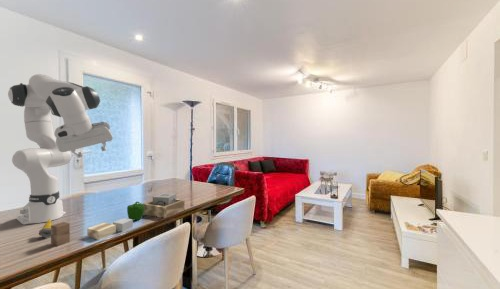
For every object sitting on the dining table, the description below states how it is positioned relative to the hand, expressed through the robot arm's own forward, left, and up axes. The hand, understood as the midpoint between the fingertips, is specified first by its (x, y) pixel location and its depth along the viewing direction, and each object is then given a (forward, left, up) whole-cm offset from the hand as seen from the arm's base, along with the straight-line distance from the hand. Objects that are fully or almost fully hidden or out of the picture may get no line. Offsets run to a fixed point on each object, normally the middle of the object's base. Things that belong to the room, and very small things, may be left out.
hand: (92, 153), depth 102 cm
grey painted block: (+6, +11, -38) cm, 40 cm away
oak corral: (+6, +38, -38) cm, 54 cm away
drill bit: (-17, -10, -38) cm, 43 cm away
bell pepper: (+1, +22, -38) cm, 44 cm away
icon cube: (+5, +39, -38) cm, 55 cm away
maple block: (+3, +2, -38) cm, 38 cm away
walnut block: (-4, -11, -38) cm, 40 cm away
